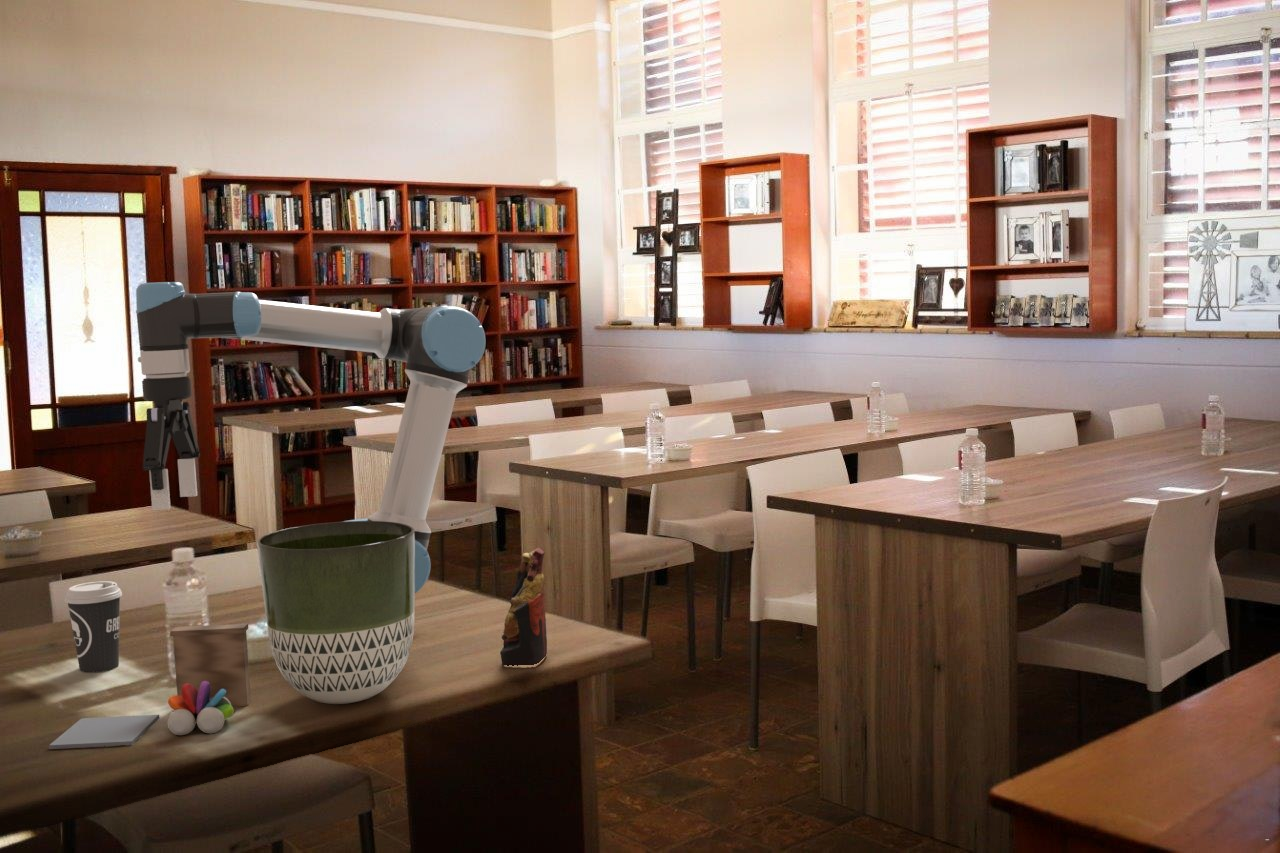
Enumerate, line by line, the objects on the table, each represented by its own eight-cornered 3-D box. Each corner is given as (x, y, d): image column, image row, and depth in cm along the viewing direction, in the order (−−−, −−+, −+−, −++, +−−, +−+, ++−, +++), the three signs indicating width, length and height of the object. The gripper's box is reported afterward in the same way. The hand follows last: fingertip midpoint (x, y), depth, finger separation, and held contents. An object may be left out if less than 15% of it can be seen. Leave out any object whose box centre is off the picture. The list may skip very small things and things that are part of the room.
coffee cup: (106, 676, 221) (100, 592, 220) (58, 674, 223) (51, 591, 222) (138, 660, 231) (132, 580, 229) (92, 659, 233) (85, 579, 231)
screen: (253, 700, 204) (248, 623, 203) (249, 705, 202) (243, 627, 200) (181, 704, 204) (175, 627, 202) (175, 709, 201) (170, 631, 200)
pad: (159, 718, 197) (159, 714, 197) (132, 745, 185) (131, 741, 185) (81, 722, 196) (81, 718, 196) (49, 749, 185) (49, 745, 184)
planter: (294, 677, 217) (285, 522, 214) (435, 673, 216) (427, 518, 213) (246, 725, 192) (234, 551, 190) (404, 721, 191) (395, 547, 189)
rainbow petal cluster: (176, 720, 196) (173, 675, 195) (240, 717, 197) (237, 671, 196) (161, 739, 188) (157, 692, 187) (227, 735, 188) (224, 688, 188)
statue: (512, 652, 228) (508, 543, 226) (554, 653, 226) (550, 544, 224) (490, 671, 216) (486, 556, 214) (535, 672, 214) (530, 557, 213)
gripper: (169, 372, 220) (178, 492, 222) (114, 381, 195) (124, 516, 198) (212, 370, 220) (220, 490, 223) (162, 379, 196) (172, 514, 198)
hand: (175, 502), depth 210 cm, fingers open, 13 cm apart
